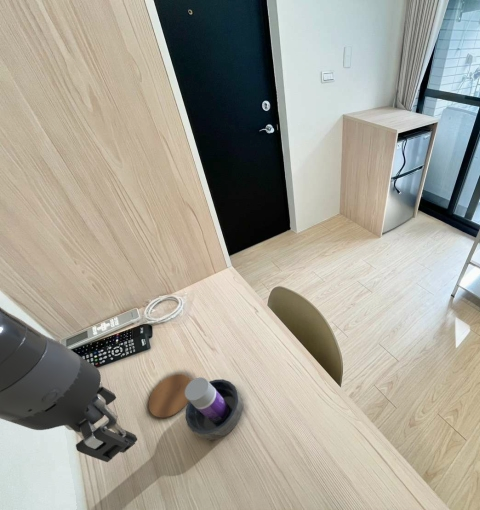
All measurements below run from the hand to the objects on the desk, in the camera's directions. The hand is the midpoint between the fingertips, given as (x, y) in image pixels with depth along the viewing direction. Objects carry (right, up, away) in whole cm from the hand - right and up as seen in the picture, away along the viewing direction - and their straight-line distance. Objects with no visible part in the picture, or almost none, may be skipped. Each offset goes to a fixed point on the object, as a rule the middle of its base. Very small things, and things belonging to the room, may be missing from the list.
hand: (119, 422), depth 41 cm
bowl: (+5, -12, +24) cm, 27 cm away
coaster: (-8, -10, +26) cm, 29 cm away
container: (+5, -12, +23) cm, 27 cm away
